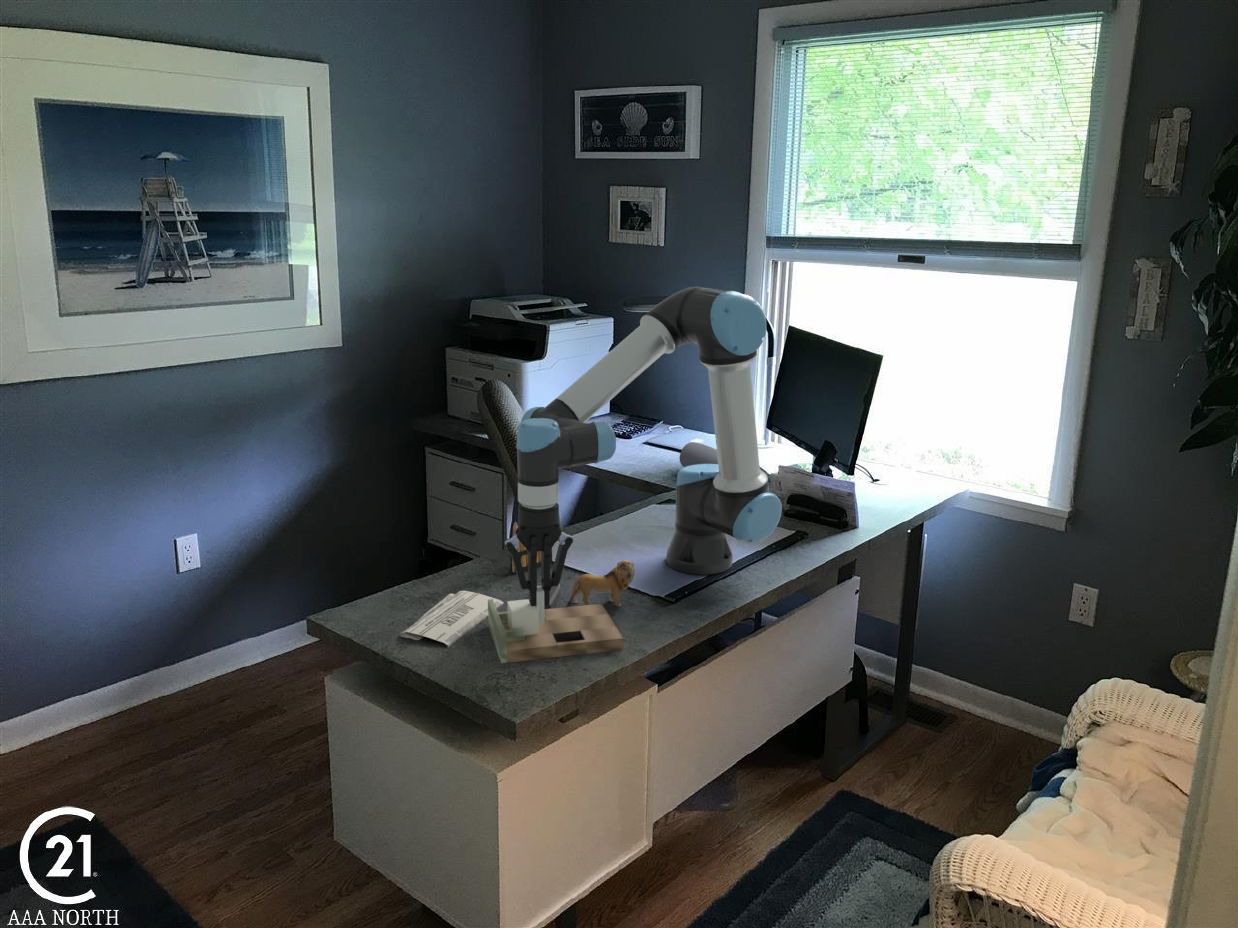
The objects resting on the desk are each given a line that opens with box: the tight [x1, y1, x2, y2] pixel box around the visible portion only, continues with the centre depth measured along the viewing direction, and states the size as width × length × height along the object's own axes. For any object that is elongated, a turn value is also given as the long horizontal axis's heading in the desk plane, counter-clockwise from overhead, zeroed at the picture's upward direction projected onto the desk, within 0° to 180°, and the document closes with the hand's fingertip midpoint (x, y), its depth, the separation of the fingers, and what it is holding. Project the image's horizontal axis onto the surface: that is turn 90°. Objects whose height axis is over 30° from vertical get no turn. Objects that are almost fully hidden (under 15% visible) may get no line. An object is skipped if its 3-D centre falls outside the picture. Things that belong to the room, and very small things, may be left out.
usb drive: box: [537, 583, 561, 609], centre depth 211 cm, size 5×12×3 cm, turn 170°
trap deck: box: [487, 599, 624, 664], centre depth 194 cm, size 23×16×6 cm
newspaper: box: [400, 590, 504, 648], centre depth 202 cm, size 23×12×2 cm, turn 158°
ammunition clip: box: [509, 521, 553, 575], centre depth 227 cm, size 11×2×12 cm, turn 133°
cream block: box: [506, 598, 539, 635], centre depth 192 cm, size 5×5×5 cm
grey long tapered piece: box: [678, 441, 718, 468], centre depth 292 cm, size 23×9×10 cm, turn 30°
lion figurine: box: [565, 559, 636, 608], centre depth 209 cm, size 15×5×9 cm, turn 109°
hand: (539, 620), depth 193 cm, fingers closed
